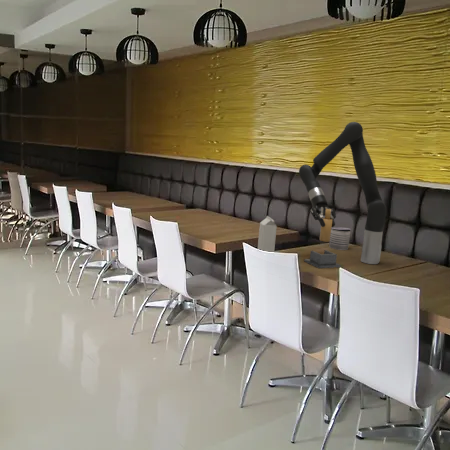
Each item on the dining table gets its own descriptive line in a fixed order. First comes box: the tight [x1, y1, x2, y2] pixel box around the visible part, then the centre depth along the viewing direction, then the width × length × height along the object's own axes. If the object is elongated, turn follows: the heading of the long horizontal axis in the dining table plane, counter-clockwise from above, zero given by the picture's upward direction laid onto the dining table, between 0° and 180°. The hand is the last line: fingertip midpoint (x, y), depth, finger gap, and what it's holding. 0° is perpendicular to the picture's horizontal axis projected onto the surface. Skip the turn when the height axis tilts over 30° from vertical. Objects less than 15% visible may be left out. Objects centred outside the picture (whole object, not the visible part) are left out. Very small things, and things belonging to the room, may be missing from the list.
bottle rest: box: [304, 249, 342, 269], centre depth 266 cm, size 13×13×6 cm
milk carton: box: [257, 215, 277, 253], centre depth 283 cm, size 7×7×19 cm
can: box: [328, 226, 351, 251], centre depth 308 cm, size 11×11×12 cm
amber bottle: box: [319, 208, 333, 243], centre depth 262 cm, size 5×5×16 cm
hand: (328, 226), depth 261 cm, fingers closed on amber bottle, 5 cm apart
